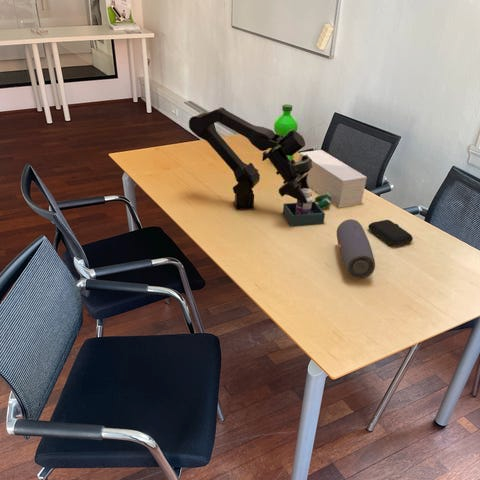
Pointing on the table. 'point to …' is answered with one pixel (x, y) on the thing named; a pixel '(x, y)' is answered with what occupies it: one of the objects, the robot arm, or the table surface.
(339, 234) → the bluetooth speaker
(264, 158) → the robot arm
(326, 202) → the gaming controller
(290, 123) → the plastic bottle
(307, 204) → the pill bottle
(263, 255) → the table surface
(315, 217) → the tray
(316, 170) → the long white box
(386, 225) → the carrying case
